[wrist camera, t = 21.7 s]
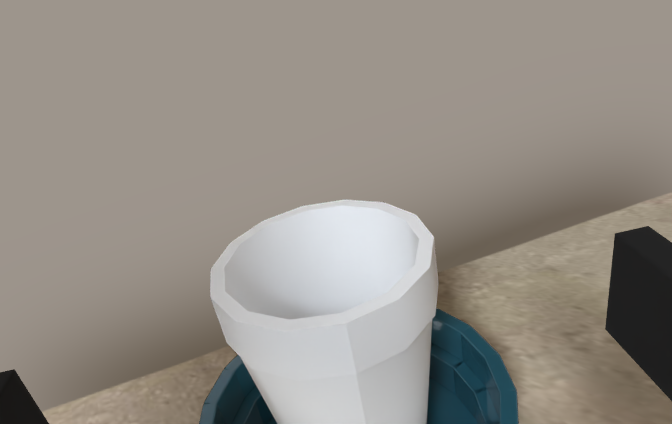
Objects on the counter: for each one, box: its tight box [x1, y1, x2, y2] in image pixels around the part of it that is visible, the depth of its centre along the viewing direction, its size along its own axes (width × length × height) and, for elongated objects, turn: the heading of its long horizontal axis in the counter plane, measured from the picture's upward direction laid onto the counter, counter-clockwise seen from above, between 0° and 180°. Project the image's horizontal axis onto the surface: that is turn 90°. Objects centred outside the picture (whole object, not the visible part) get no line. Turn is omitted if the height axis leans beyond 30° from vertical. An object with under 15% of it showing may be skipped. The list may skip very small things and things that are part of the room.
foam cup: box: [210, 200, 439, 424], centre depth 25 cm, size 10×9×13 cm
